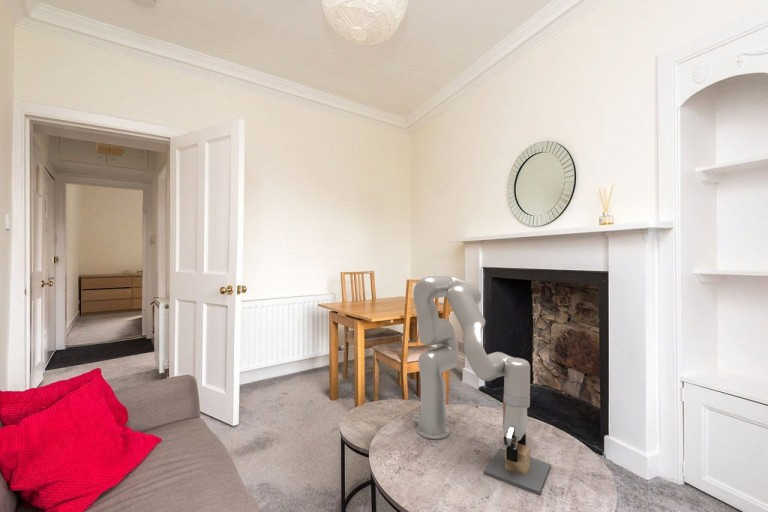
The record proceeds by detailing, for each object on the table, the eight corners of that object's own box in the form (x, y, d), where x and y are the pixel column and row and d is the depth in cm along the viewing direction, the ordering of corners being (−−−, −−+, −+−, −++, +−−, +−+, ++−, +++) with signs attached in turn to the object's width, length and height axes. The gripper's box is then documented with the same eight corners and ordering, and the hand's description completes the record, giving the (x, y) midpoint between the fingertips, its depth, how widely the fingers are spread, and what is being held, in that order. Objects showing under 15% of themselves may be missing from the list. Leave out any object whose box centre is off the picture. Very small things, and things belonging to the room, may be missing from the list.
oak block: (505, 468, 104) (504, 449, 104) (510, 459, 109) (510, 440, 109) (525, 475, 101) (525, 455, 101) (530, 466, 106) (529, 446, 106)
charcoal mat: (483, 474, 103) (483, 470, 103) (500, 450, 116) (500, 447, 116) (539, 495, 94) (539, 491, 94) (550, 467, 107) (550, 464, 107)
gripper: (512, 387, 115) (511, 437, 114) (495, 405, 101) (495, 462, 101) (535, 393, 110) (535, 445, 110) (522, 412, 96) (521, 471, 96)
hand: (516, 453), depth 105 cm, fingers open, 9 cm apart
